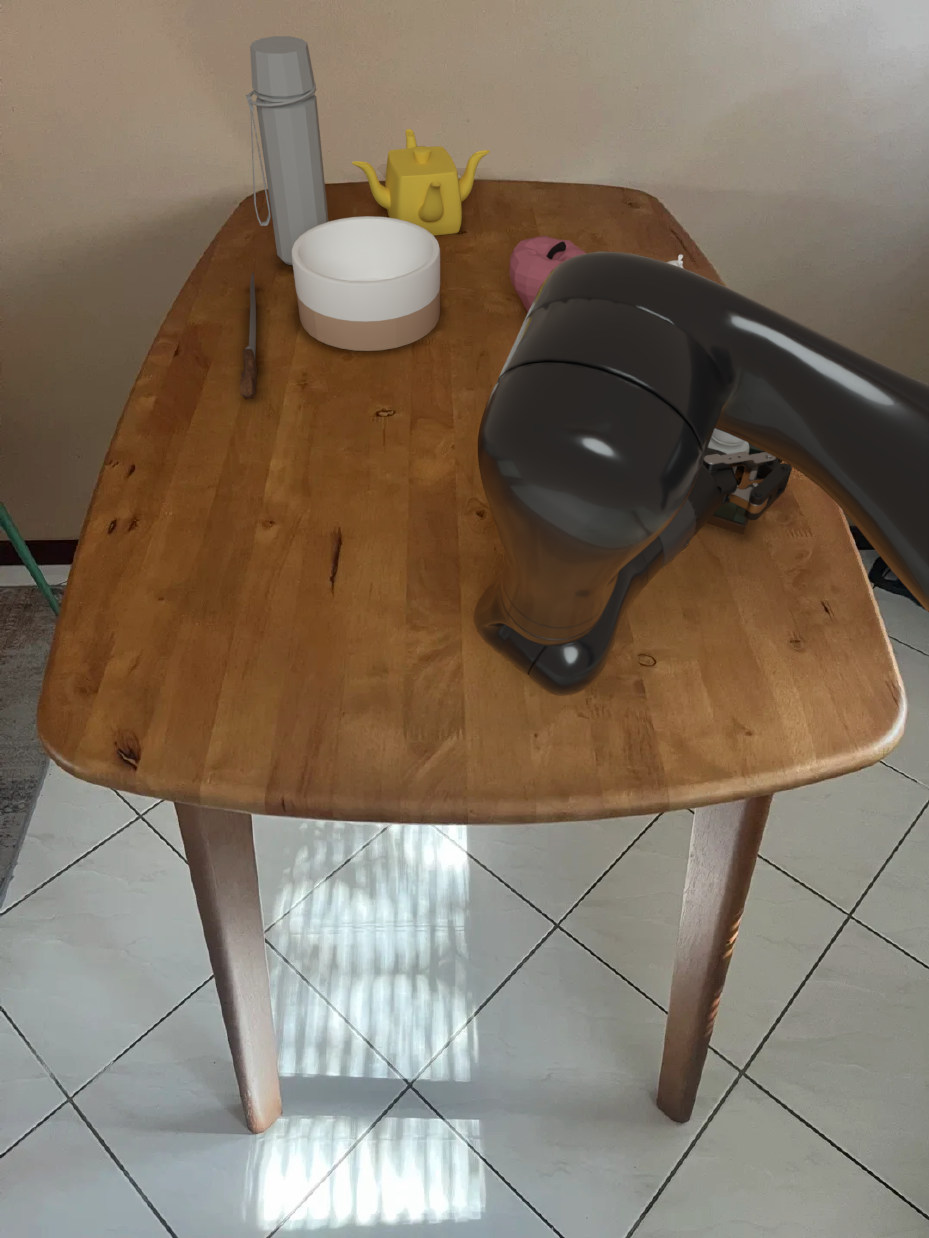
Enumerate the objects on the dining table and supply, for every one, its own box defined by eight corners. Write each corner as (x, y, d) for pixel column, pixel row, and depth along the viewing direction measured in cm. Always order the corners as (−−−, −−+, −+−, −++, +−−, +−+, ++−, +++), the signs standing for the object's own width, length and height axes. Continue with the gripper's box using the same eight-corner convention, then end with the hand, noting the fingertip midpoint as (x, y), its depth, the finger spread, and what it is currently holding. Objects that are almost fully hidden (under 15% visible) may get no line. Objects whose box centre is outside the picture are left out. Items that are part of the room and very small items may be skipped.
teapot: (438, 252, 126) (438, 178, 119) (353, 227, 130) (347, 155, 123) (492, 213, 134) (494, 142, 127) (409, 191, 139) (407, 121, 132)
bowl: (450, 286, 119) (450, 221, 113) (426, 358, 108) (425, 290, 102) (319, 275, 121) (312, 210, 115) (282, 344, 109) (272, 277, 103)
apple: (589, 303, 117) (599, 224, 109) (577, 338, 111) (586, 257, 104) (515, 293, 118) (519, 214, 111) (499, 327, 113) (502, 246, 105)
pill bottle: (699, 469, 93) (716, 403, 87) (742, 482, 91) (762, 416, 86) (685, 494, 90) (701, 427, 84) (729, 508, 89) (748, 441, 83)
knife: (251, 382, 97) (254, 244, 117) (238, 383, 97) (243, 244, 116) (258, 417, 100) (259, 277, 120) (245, 418, 100) (249, 277, 120)
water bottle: (327, 241, 128) (306, 32, 109) (337, 268, 122) (317, 53, 104) (259, 248, 126) (227, 38, 108) (266, 276, 121) (233, 59, 102)
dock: (766, 484, 93) (778, 447, 89) (743, 534, 88) (754, 497, 84) (685, 460, 95) (693, 423, 92) (657, 507, 90) (665, 470, 87)
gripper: (741, 514, 73) (823, 418, 82) (585, 446, 78) (678, 363, 87) (720, 582, 78) (799, 485, 87) (576, 514, 84) (664, 429, 93)
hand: (738, 424), depth 87 cm, fingers open, 8 cm apart
